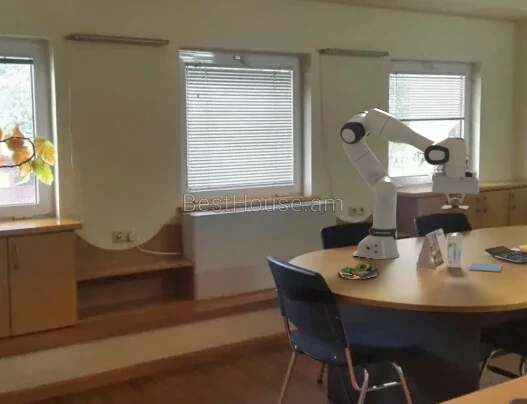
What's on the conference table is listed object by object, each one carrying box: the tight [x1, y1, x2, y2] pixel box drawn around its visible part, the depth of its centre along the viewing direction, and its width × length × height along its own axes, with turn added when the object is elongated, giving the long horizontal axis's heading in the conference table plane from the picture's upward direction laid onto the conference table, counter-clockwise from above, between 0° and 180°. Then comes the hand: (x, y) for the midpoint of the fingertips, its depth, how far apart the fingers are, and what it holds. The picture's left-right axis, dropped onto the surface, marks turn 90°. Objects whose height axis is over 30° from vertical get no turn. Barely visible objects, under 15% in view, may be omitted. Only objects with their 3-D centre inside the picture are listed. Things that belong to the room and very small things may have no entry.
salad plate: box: [338, 262, 379, 280], centre depth 291 cm, size 19×18×5 cm
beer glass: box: [446, 232, 464, 269], centre depth 303 cm, size 7×7×15 cm
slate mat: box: [468, 262, 503, 273], centre depth 300 cm, size 13×13×1 cm
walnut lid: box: [440, 197, 470, 212], centre depth 301 cm, size 11×11×5 cm
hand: (455, 203), depth 301 cm, fingers closed on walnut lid, 3 cm apart
